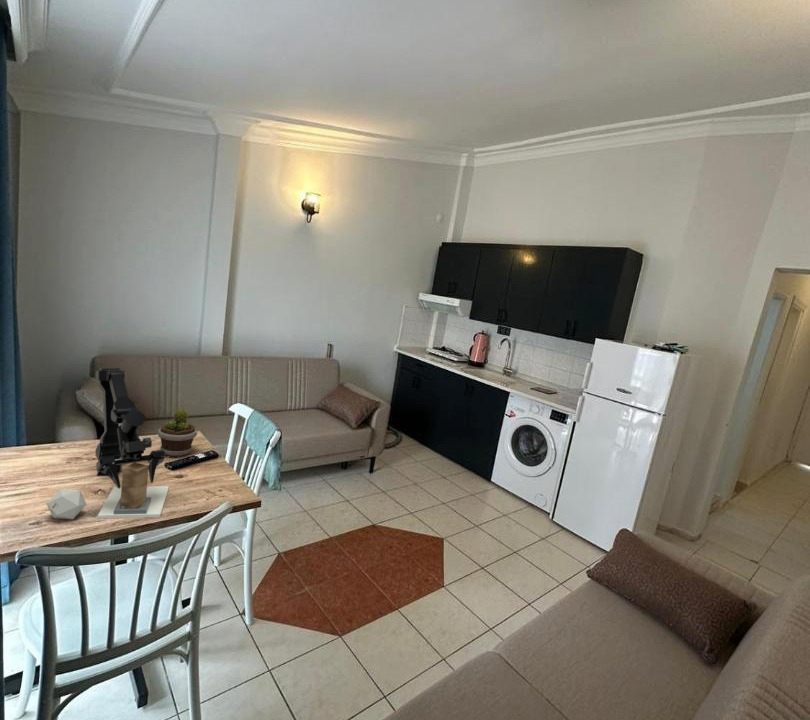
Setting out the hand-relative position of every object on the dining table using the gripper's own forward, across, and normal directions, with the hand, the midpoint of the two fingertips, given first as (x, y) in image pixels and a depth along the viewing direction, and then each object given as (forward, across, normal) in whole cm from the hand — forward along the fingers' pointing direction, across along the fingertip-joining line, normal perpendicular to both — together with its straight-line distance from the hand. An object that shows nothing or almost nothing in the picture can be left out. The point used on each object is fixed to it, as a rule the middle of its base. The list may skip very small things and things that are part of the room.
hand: (136, 485), depth 145 cm
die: (+3, -17, +10) cm, 20 cm away
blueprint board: (+2, +2, +11) cm, 11 cm away
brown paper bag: (+4, 0, +6) cm, 7 cm away
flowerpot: (-24, +26, +37) cm, 52 cm away
